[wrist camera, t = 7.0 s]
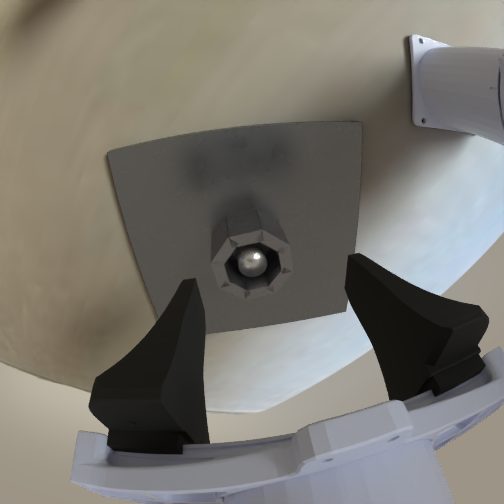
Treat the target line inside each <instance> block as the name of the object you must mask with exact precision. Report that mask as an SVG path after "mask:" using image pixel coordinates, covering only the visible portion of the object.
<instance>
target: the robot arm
mask: <svg viewBox="0 0 504 504" xmlns="http://www.w3.org/2000/svg"><path fill="white" fill-rule="evenodd" d="M419 40H420V41H421V43H420V42H419ZM409 42H410V52H411V67H412V94H413V115H412V120H413V123H414V124H415V125H416V126H421V127H430V128H439V129H446V130H453V131H459V132H465V133H471V134H475V135H478V136H481V137H484V138H486V139H489V140H492V141H494V142H497V143H499V144H502V145H504V49H499V48H486V47H452V46H449V45H446V44H444V43H441V42H438V41H435V40H432V39H429V38H426V37H423V36H420V35H416V34H412V35H410V36H409ZM422 118H423V123H422ZM344 289H345V291H346V294H347V297H348V299H349V302H350V304H351V306H352V308H353V310H354V312H355V314H356V315H357V317H358V319H359V321H360V323H361V324H362V326H363V328H364V330H365V332H366V334H367V335H368V337H369V339H370V341H371V344H372V346H373V348H374V351H375V353H376V356H377V359H378V362H379V365H380V368H381V371H382V374H383V377H384V380H385V384H386V388H387V391H388V396H389V400H390V401H386V402H383V403H380V404H377V405H374V406H371V407H368V408H365V409H361V410H358V411H355V412H351V413H348V414H344V415H341V416H337V417H334V418H329V419H326V420H321V421H318V422H315V423H312V424H309V425H307V426H305V427H303V428H301V429H300V430H298V431H297V432H296V433H291V434H286V435H280V436H274V437H269V438H261V439H254V440H246V441H238V442H226V443H212V444H210V440H209V433H208V426H207V417H206V407H205V396H204V381H203V366H204V350H205V335H206V322H205V309H204V306H203V302H202V299H201V295H200V291H199V288H198V284H197V280H196V278H191V279H184V280H182V282H181V283H180V285H179V287H178V289H177V290H176V292H175V294H174V296H173V297H172V299H171V301H170V302H169V304H168V306H167V307H166V309H165V310H164V312H163V313H162V315H161V316H160V318H159V319H158V321H157V322H156V323H155V325H154V326H153V327H152V329H151V330H150V331H149V332H148V334H147V335H146V336H145V337H144V338H143V339H142V340H141V341H140V342H139V343H138V344H137V345H136V346H135V347H134V348H133V349H132V350H131V351H130V352H129V353H128V354H127V355H126V356H125V357H124V358H122V359H121V360H120V361H119V362H117V363H116V364H115V365H114V366H112V367H111V368H109V369H108V370H106V371H105V372H104V373H102V374H101V375H99V376H98V377H96V379H95V382H94V385H93V388H92V393H91V397H90V402H89V409H90V411H91V413H92V414H93V415H94V416H95V417H96V418H97V419H98V420H99V421H100V422H101V423H103V424H104V425H105V426H106V427H107V428H108V429H109V432H108V436H107V435H104V434H101V433H95V432H87V431H78V436H77V441H76V447H75V452H74V459H73V465H72V472H71V482H73V483H75V484H77V485H79V486H81V487H83V488H86V489H88V490H90V491H92V492H95V493H97V494H99V495H102V496H105V497H110V498H115V499H120V500H126V501H132V502H138V503H145V504H455V503H454V500H453V497H452V494H451V492H450V489H449V486H448V483H447V481H446V478H445V476H444V473H443V470H442V468H441V465H440V463H439V460H438V458H437V455H436V453H435V451H436V450H438V449H440V448H441V447H443V446H445V445H446V444H448V443H450V442H451V441H453V440H454V439H456V438H457V437H459V436H461V435H462V434H463V433H465V432H466V431H468V430H470V429H471V428H473V427H474V426H476V425H477V424H478V423H480V422H481V421H483V420H484V419H485V418H487V417H488V416H490V415H491V414H492V413H494V412H495V411H496V410H497V409H499V408H500V407H501V406H502V405H503V404H504V352H503V350H502V349H501V348H500V347H497V348H496V349H494V350H492V351H491V352H489V353H487V354H486V355H484V356H483V357H482V358H481V357H480V356H479V353H480V352H481V350H480V348H479V347H478V344H479V342H480V340H481V339H482V337H483V335H484V333H485V332H486V330H487V327H488V324H489V318H488V316H487V315H486V314H485V312H484V311H483V310H482V309H481V307H480V306H478V305H473V304H467V303H462V302H458V301H455V300H451V299H447V298H444V297H441V296H438V295H436V294H433V293H430V292H428V291H426V290H423V289H421V288H419V287H417V286H415V285H413V284H411V283H409V282H407V281H405V280H403V279H401V278H400V277H398V276H396V275H395V274H393V273H391V272H390V271H388V270H386V269H385V268H383V267H382V266H380V265H378V264H377V263H375V262H374V261H372V260H370V259H369V258H367V257H366V256H364V255H362V254H360V253H356V254H350V255H348V260H347V269H346V278H345V287H344Z"/></svg>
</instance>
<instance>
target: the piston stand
mask: <svg viewBox="0 0 504 504" xmlns="http://www.w3.org/2000/svg"><path fill="white" fill-rule="evenodd" d="M107 154H108V159H109V163H110V168H111V172H112V176H113V180H114V184H115V188H116V192H117V196H118V200H119V203H120V207H121V211H122V214H123V218H124V221H125V225H126V228H127V231H128V234H129V238H130V241H131V244H132V247H133V250H134V253H135V256H136V259H137V262H138V265H139V268H140V271H141V274H142V277H143V279H144V282H145V285H146V288H147V290H148V293H149V296H150V298H151V301H152V303H153V306H154V308H155V311H156V314H157V316H158V318H160V316H161V315H162V313H163V312H164V310H165V309H166V307H167V306H168V304H169V302H170V301H171V299H172V297H173V296H174V294H175V292H176V290H177V289H178V287H179V285H180V283H181V282H182V280H184V279H191V278H196V280H197V284H198V288H199V291H200V295H201V299H202V302H203V306H204V309H205V322H206V334H210V333H218V332H227V331H234V330H242V329H249V328H256V327H263V326H269V325H276V324H282V323H288V322H294V321H299V320H305V319H310V318H316V317H321V316H326V315H331V314H336V313H341V312H346V309H347V303H348V297H347V294H346V291H345V289H344V287H345V278H346V269H347V260H348V255H350V254H354V253H355V245H356V235H357V225H358V214H359V201H360V185H361V163H362V122H353V121H320V122H291V123H275V124H262V125H251V126H241V127H232V128H224V129H216V130H209V131H202V132H196V133H190V134H184V135H178V136H173V137H167V138H162V139H157V140H152V141H148V142H143V143H139V144H134V145H130V146H126V147H122V148H118V149H114V150H110V151H108V152H107ZM252 208H257V209H258V210H260V211H262V212H263V213H265V214H267V215H268V216H270V217H272V218H274V219H275V220H277V221H279V223H280V225H281V227H282V229H283V232H284V234H285V236H286V238H287V240H288V242H289V245H290V250H291V257H292V264H293V273H292V274H291V275H290V276H289V278H288V279H287V280H286V281H285V282H284V283H283V285H282V286H281V287H280V288H279V289H278V290H277V292H276V293H274V294H270V295H266V296H261V297H257V298H252V299H248V300H246V299H245V300H244V299H242V298H240V297H237V296H235V295H233V294H230V293H228V292H226V291H224V290H221V289H220V288H219V287H218V284H217V281H216V278H215V275H214V272H213V269H212V266H211V237H212V235H213V233H214V232H215V230H216V229H217V227H218V226H219V224H220V223H221V221H222V220H223V218H224V217H225V215H226V214H230V213H235V212H239V211H243V210H248V209H252ZM269 248H270V247H268V246H266V245H265V244H263V243H261V242H257V243H252V244H248V245H244V246H239V247H236V248H235V250H234V251H233V253H232V254H231V255H230V257H232V258H234V259H236V260H238V267H239V270H240V272H241V273H242V274H243V275H245V276H248V277H255V276H258V275H260V274H262V273H263V272H264V271H265V270H266V268H267V260H266V257H265V254H266V252H267V251H268V250H269Z"/></svg>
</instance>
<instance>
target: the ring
mask: <svg viewBox="0 0 504 504" xmlns="http://www.w3.org/2000/svg"><path fill="white" fill-rule="evenodd" d="M257 242H261V243H263V244H265V245H266V246H268V247H270V248H269V250H268V251H267V252H266V254H265V257H266V260H267V268H266V270H265V271H264V272H263V273H262V274H260V275H258V276H255V277H248V276H245V275H243V274H242V273H241V272H240V270H239V267H238V260H236V259H234V258H232V257H230V255H231V254H232V253H233V251H234V250H235V248H236V247H239V246H244V245H248V244H252V243H257ZM211 266H212V269H213V272H214V275H215V278H216V281H217V284H218V287H219V288H220V289H221V290H224V291H226V292H228V293H230V294H233V295H235V296H237V297H240V298H242V299H244V300H245V299H246V300H248V299H252V298H257V297H261V296H266V295H270V294H274V293H276V292H277V290H278V289H279V288H280V287H281V286H282V285H283V283H284V282H285V281H286V280H287V279H288V278H289V276H290V275H291V274H292V273H293V264H292V257H291V250H290V245H289V242H288V240H287V238H286V236H285V234H284V232H283V229H282V227H281V225H280V223H279V221H277V220H275V219H274V218H272V217H270V216H268V215H267V214H265V213H263V212H262V211H260V210H258V209H257V208H252V209H248V210H243V211H239V212H235V213H230V214H226V215H225V217H224V218H223V220H222V221H221V223H220V224H219V226H218V227H217V229H216V230H215V232H214V233H213V235H212V237H211Z"/></svg>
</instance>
